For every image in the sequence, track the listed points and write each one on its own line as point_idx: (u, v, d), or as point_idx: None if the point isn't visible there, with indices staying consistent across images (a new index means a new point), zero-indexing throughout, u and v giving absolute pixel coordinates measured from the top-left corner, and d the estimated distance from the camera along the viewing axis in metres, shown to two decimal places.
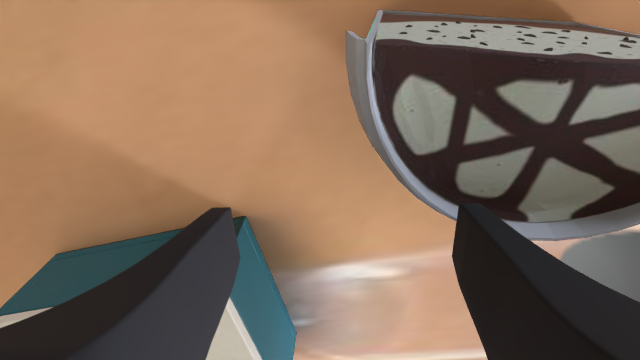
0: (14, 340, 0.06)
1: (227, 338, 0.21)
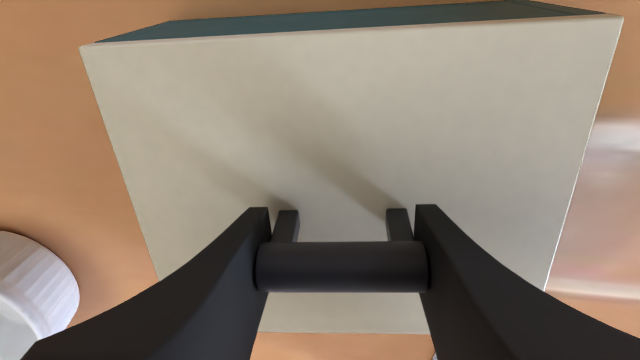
0: (86, 341, 0.06)
1: (556, 149, 0.11)
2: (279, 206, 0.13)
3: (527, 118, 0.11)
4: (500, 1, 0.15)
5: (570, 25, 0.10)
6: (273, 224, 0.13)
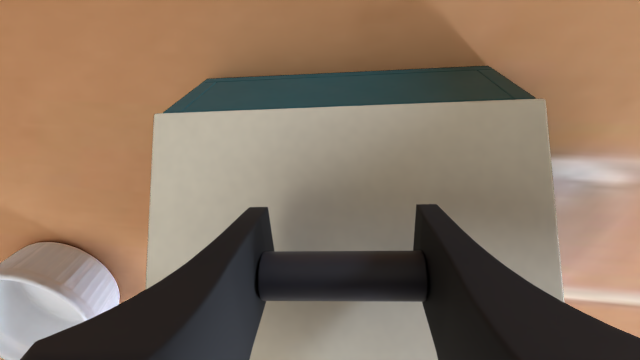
0: (87, 341, 0.06)
1: (529, 199, 0.13)
2: None
3: (496, 171, 0.13)
4: (469, 67, 0.19)
5: (508, 103, 0.14)
6: None
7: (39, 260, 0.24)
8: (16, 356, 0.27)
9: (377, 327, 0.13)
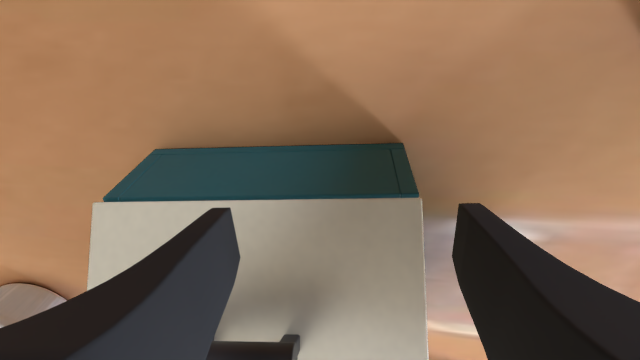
0: (15, 340, 0.06)
1: (404, 286, 0.16)
2: None
3: (378, 261, 0.16)
4: (385, 145, 0.21)
5: (390, 201, 0.16)
6: None
7: (8, 303, 0.27)
8: None
9: None
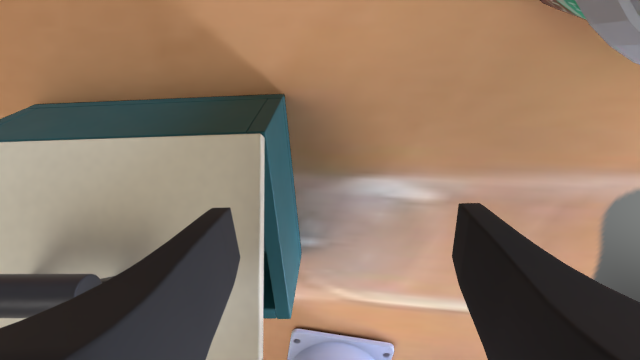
0: (14, 340, 0.06)
1: (238, 224, 0.15)
2: (29, 273, 0.15)
3: (213, 199, 0.15)
4: (264, 96, 0.21)
5: (228, 137, 0.15)
6: None
7: None
8: None
9: None
